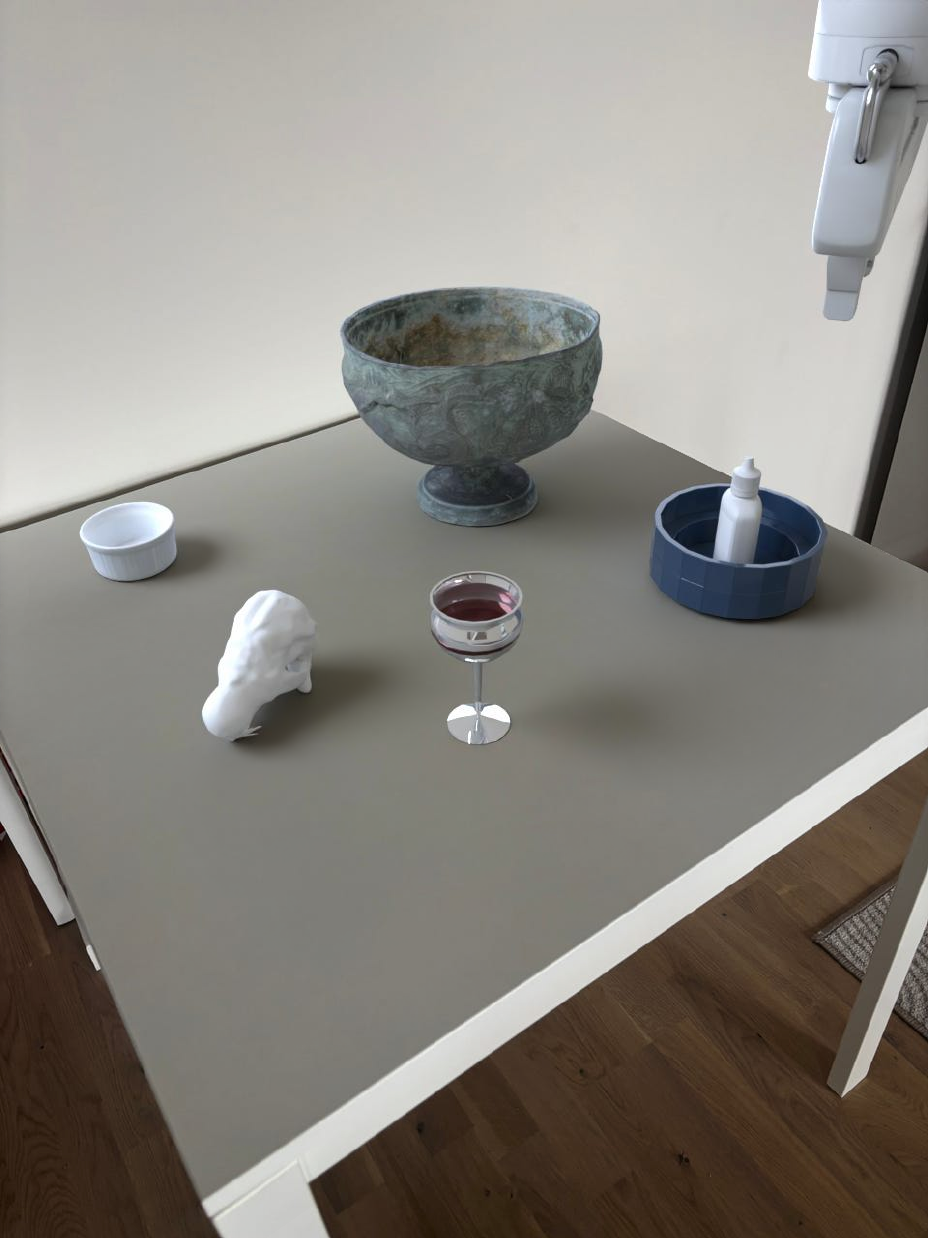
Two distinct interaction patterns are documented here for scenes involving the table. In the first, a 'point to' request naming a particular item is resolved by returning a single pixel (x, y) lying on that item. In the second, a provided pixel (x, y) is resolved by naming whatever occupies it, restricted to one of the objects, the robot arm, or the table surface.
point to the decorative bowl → (473, 388)
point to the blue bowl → (731, 588)
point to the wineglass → (476, 641)
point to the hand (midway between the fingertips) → (848, 294)
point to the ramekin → (130, 540)
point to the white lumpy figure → (261, 661)
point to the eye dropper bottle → (739, 516)
